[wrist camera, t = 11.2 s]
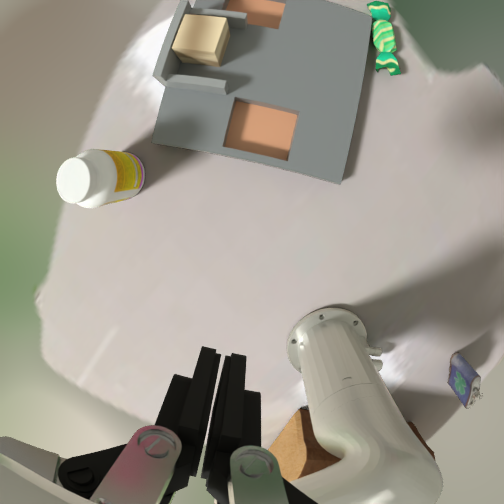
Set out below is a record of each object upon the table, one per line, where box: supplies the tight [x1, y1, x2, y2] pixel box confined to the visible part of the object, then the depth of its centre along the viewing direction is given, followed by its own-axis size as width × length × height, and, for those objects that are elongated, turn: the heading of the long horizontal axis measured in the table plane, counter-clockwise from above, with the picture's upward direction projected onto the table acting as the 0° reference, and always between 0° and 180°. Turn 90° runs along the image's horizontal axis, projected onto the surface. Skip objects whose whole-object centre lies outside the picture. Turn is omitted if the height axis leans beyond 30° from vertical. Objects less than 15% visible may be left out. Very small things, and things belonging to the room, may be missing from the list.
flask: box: [447, 352, 483, 409], centre depth 40 cm, size 9×3×11 cm, turn 18°
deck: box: [151, 0, 372, 184], centre depth 29 cm, size 24×26×8 cm
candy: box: [367, 1, 401, 76], centre depth 29 cm, size 12×3×4 cm
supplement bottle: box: [56, 149, 145, 208], centre depth 30 cm, size 7×7×13 cm
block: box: [172, 14, 230, 67], centre depth 27 cm, size 5×5×5 cm
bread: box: [268, 409, 435, 482], centre depth 42 cm, size 18×30×16 cm, turn 70°
